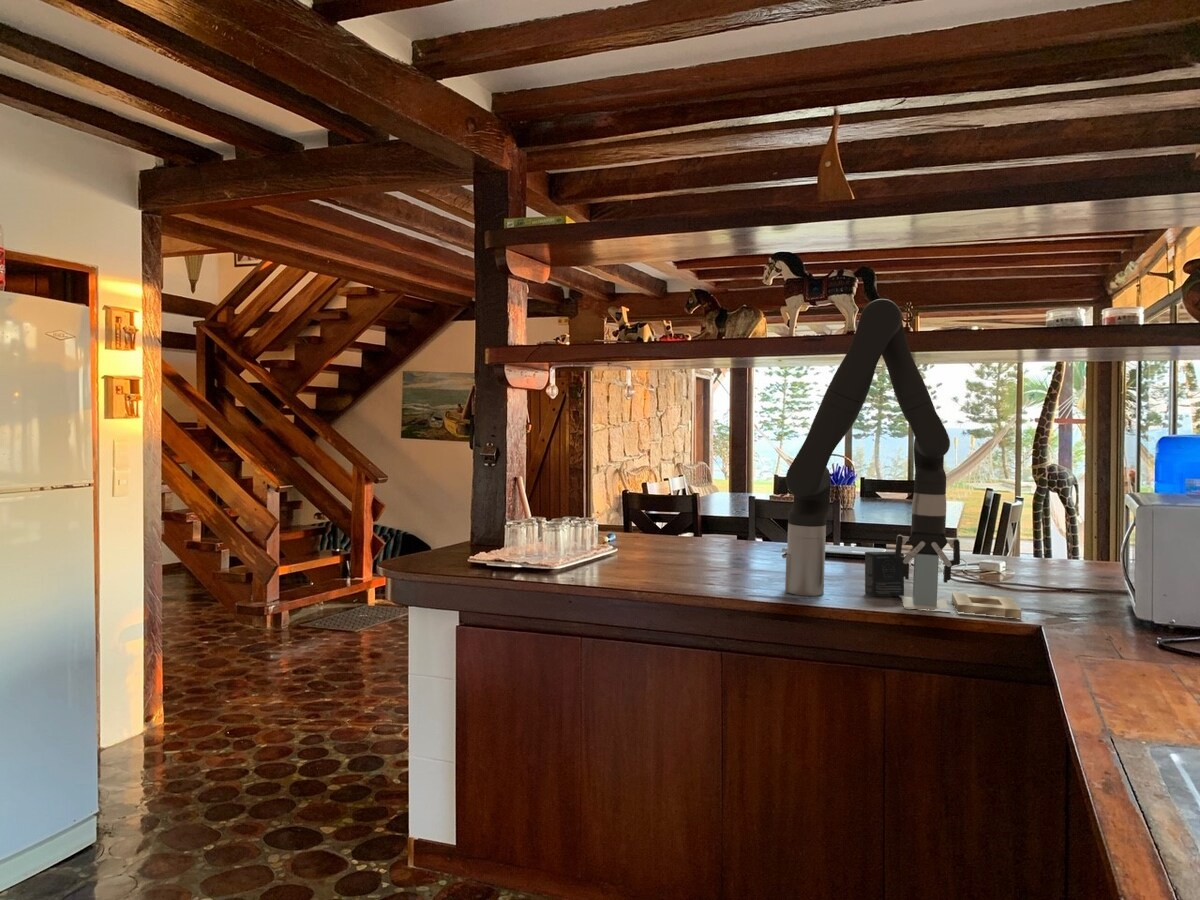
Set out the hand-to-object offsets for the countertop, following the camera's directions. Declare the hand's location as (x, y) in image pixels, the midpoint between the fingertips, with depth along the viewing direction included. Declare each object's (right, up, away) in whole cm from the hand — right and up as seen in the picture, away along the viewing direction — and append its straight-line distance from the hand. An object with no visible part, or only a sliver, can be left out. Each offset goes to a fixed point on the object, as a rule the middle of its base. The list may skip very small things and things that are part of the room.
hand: (926, 580), depth 196 cm
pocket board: (+12, -6, -4) cm, 14 cm away
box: (-7, -5, +10) cm, 13 cm away
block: (0, -6, 0) cm, 6 cm away
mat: (0, -6, 0) cm, 6 cm away
